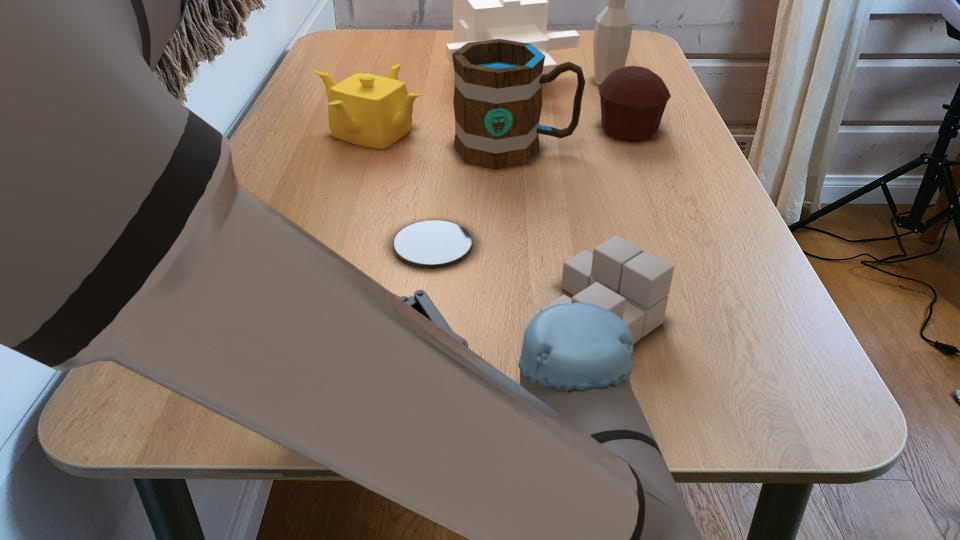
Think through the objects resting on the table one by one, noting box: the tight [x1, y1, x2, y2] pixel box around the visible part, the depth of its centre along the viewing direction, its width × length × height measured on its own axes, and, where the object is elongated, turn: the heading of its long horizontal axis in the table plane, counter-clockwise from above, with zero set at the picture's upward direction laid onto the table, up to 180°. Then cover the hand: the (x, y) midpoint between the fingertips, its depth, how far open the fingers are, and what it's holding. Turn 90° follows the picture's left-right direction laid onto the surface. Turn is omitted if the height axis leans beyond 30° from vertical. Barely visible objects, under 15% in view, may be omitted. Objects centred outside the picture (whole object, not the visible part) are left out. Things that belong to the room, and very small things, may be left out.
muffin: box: [597, 65, 672, 143], centre depth 118 cm, size 12×11×10 cm
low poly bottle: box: [592, 0, 634, 86], centre depth 130 cm, size 6×6×22 cm
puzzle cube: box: [539, 235, 675, 345], centre depth 80 cm, size 12×12×8 cm
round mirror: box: [393, 219, 473, 269], centre depth 94 cm, size 10×10×1 cm
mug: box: [452, 39, 586, 170], centre depth 111 cm, size 20×14×15 cm
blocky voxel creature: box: [445, 0, 581, 74], centre depth 136 cm, size 15×25×28 cm
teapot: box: [314, 61, 423, 150], centre depth 117 cm, size 15×14×10 cm
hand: (297, 320), depth 73 cm, fingers open, 13 cm apart
